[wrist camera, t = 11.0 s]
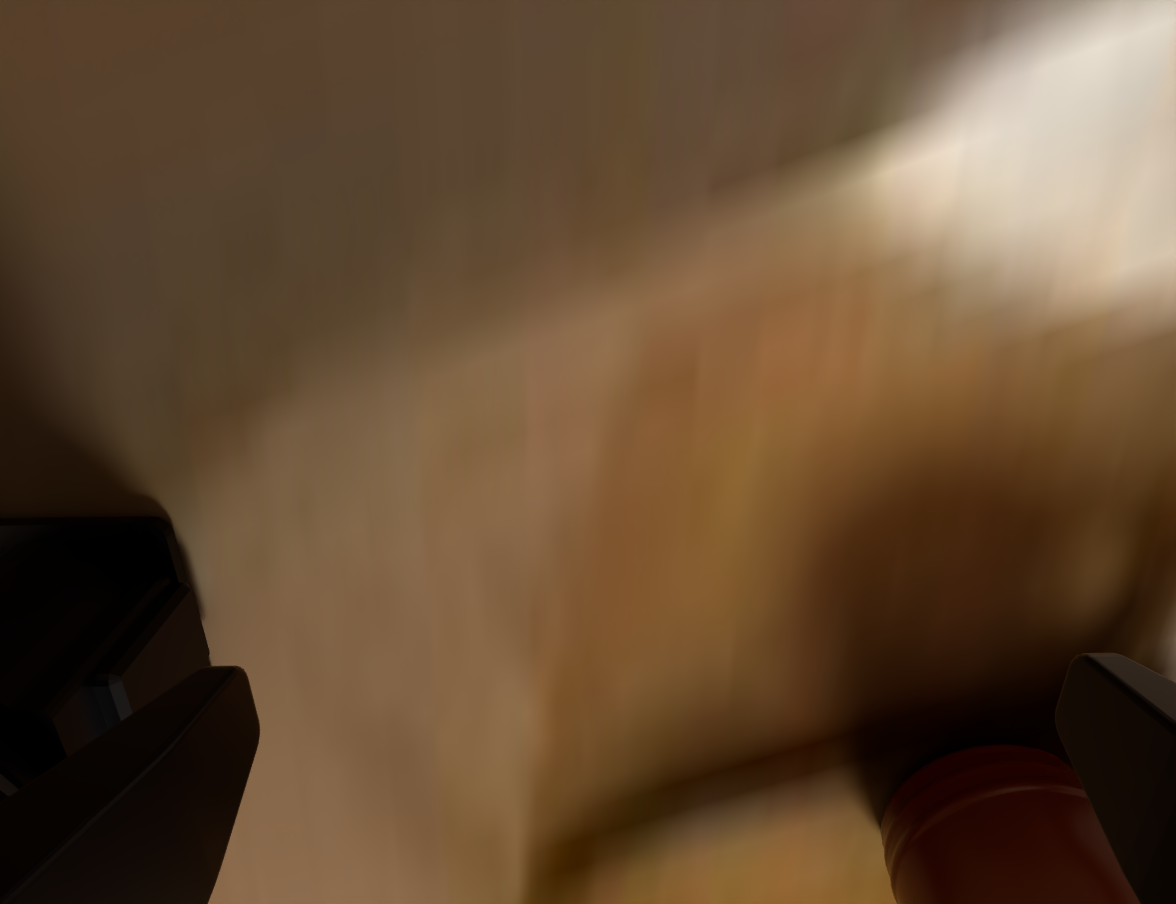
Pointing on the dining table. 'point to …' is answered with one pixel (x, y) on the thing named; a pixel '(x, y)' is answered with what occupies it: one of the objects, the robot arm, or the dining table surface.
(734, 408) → the dining table surface
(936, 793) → the mug
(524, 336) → the dining table surface
